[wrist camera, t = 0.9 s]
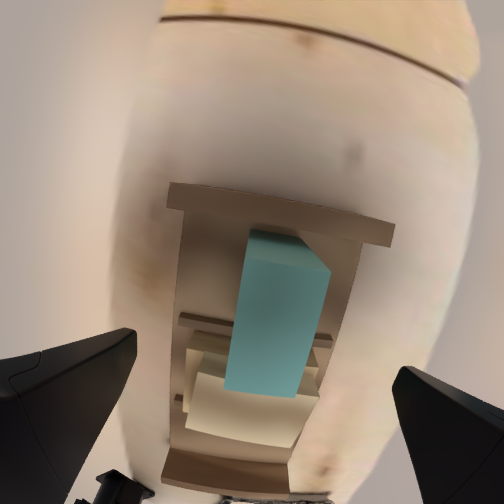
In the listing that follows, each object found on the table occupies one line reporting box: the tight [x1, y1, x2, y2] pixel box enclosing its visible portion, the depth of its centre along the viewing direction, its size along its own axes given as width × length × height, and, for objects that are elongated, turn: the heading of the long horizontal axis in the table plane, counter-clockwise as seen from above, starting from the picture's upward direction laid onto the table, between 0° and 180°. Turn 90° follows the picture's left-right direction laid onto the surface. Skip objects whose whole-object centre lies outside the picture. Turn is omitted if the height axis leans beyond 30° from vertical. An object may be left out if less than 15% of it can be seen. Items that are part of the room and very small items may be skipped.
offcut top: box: [185, 351, 320, 448], centre depth 16 cm, size 5×7×2 cm
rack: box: [161, 182, 395, 500], centre depth 18 cm, size 24×11×5 cm, turn 170°
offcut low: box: [183, 330, 319, 413], centre depth 18 cm, size 6×8×2 cm
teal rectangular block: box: [223, 229, 331, 398], centre depth 14 cm, size 6×3×8 cm, turn 170°
